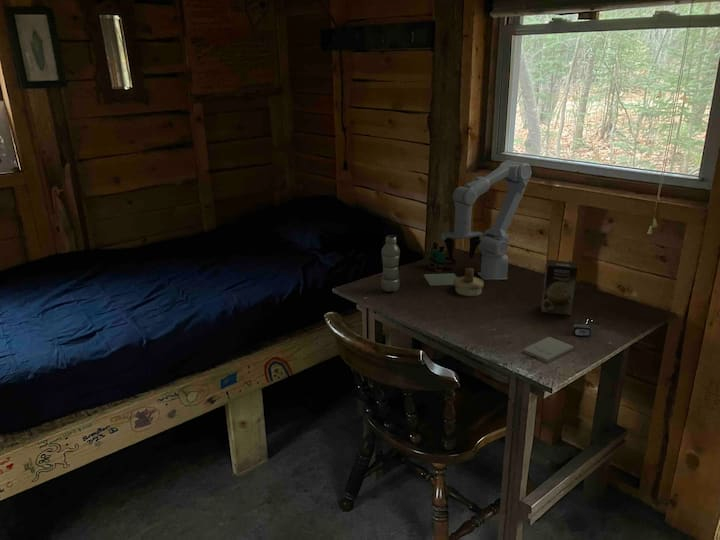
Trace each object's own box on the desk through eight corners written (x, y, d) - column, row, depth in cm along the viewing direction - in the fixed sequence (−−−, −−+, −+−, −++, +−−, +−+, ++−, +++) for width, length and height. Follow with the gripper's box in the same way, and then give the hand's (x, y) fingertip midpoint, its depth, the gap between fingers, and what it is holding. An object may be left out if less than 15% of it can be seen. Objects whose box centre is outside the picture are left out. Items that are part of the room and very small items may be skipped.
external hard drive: (573, 351, 157) (547, 364, 150) (547, 341, 163) (521, 353, 156) (573, 346, 157) (547, 359, 149) (548, 336, 163) (522, 348, 155)
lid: (471, 277, 204) (472, 262, 202) (489, 286, 195) (490, 271, 193) (447, 282, 199) (448, 266, 197) (465, 291, 190) (466, 276, 188)
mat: (453, 274, 215) (454, 273, 215) (462, 285, 204) (462, 284, 204) (423, 275, 214) (423, 274, 214) (430, 287, 203) (430, 285, 203)
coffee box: (541, 312, 181) (546, 265, 176) (540, 304, 187) (546, 259, 182) (571, 315, 179) (577, 267, 174) (570, 307, 185) (576, 261, 180)
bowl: (476, 288, 202) (476, 280, 201) (483, 296, 194) (484, 288, 193) (453, 288, 201) (453, 281, 200) (459, 297, 193) (460, 289, 192)
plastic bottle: (402, 292, 198) (404, 238, 191) (385, 295, 196) (386, 240, 189) (395, 286, 204) (396, 233, 197) (377, 289, 201) (378, 235, 195)
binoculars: (461, 246, 217) (439, 247, 213) (457, 272, 220) (436, 274, 216) (448, 240, 225) (427, 241, 220) (445, 266, 228) (424, 267, 223)
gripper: (479, 217, 202) (476, 253, 206) (439, 219, 200) (438, 255, 205) (485, 222, 195) (483, 259, 200) (445, 224, 193) (443, 261, 198)
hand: (460, 257), depth 202 cm, fingers open, 7 cm apart
